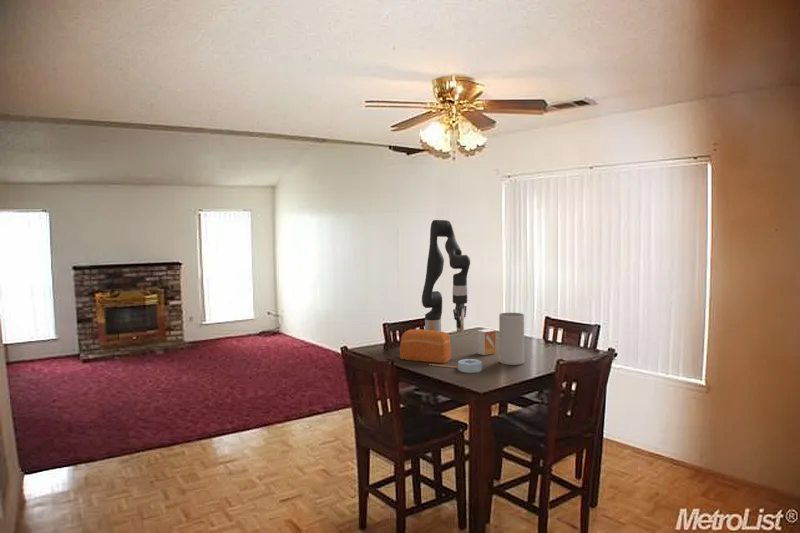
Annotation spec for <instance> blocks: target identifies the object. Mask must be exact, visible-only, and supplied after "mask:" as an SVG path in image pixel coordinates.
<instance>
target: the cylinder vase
mask: <svg viewBox="0 0 800 533" xmlns="http://www.w3.org/2000/svg"><path fill="white" fill-rule="evenodd" d="M498 322H499V324H498V325H499V327H498V329H499V330H498V331H499V332H498V333H499V340H498V342H499V346H498V347H499V348H498V349H499V362H500V364H503V365H505V366H506V365H507V366H518V365H522V364H524V362H525V313H521V312H502V313H499V320H498Z"/></svg>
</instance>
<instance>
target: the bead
mask: <svg viewBox="0 0 800 533" xmlns="http://www.w3.org/2000/svg"><path fill="white" fill-rule="evenodd" d="M457 367H458V368H457V370H458V371H459V372H462V373H467V374H468V373H470V374H472V373H474V374H475V373H480V372H481V371H483V361H482V360H479V359H477V358H476V359H475V358H473V359H472V358H465V359H460V360H458V361H457Z"/></svg>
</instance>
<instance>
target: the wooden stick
mask: <svg viewBox="0 0 800 533" xmlns="http://www.w3.org/2000/svg"><path fill="white" fill-rule="evenodd" d="M428 364H429V366H431V365H432V367H443V368H452V369H458V366H456V365H454V366H453V365H445V364H443V365H442V364H435V363H428Z"/></svg>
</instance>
